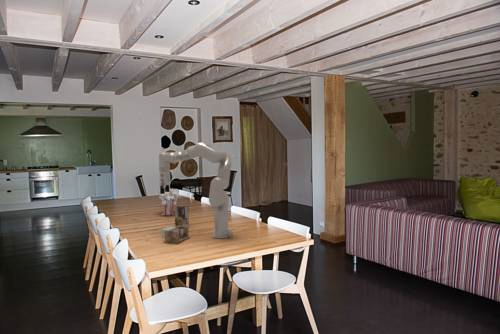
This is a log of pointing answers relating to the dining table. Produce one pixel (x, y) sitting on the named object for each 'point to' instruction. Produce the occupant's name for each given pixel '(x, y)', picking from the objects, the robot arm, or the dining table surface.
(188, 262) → the dining table surface
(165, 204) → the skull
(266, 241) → the dining table surface
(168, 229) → the grey green block
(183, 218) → the coffee box
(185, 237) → the peg stand
